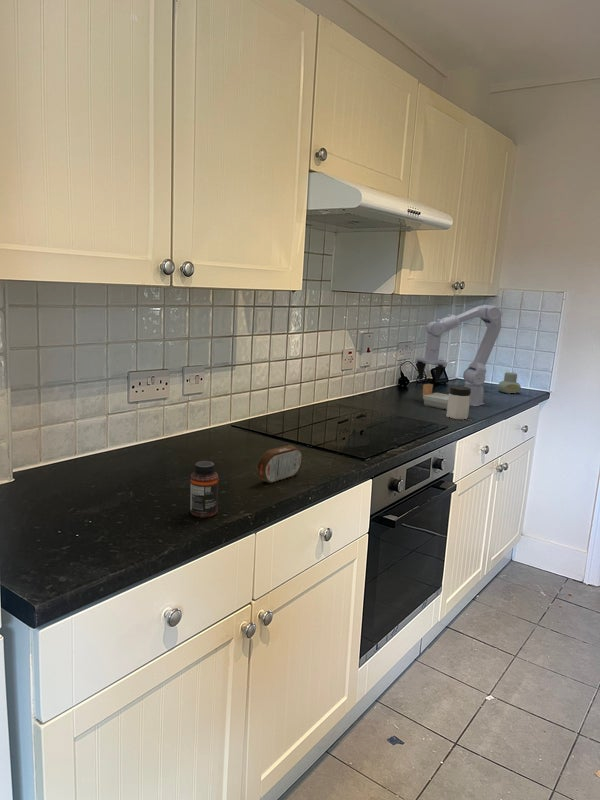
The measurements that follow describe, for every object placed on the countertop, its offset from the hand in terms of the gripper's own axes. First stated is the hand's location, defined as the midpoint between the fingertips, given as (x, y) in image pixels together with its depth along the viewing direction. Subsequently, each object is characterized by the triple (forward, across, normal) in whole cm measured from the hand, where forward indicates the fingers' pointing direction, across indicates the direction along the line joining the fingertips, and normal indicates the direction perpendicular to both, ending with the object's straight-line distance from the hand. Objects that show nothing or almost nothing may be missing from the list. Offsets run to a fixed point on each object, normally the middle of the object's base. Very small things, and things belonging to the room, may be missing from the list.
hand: (428, 380), depth 263 cm
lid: (+7, +8, 0) cm, 11 cm away
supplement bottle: (+12, +29, -153) cm, 156 cm away
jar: (+10, +22, -14) cm, 28 cm away
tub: (+10, +10, 0) cm, 14 cm away
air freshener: (+9, +13, +62) cm, 64 cm away
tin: (+12, +25, -123) cm, 126 cm away
